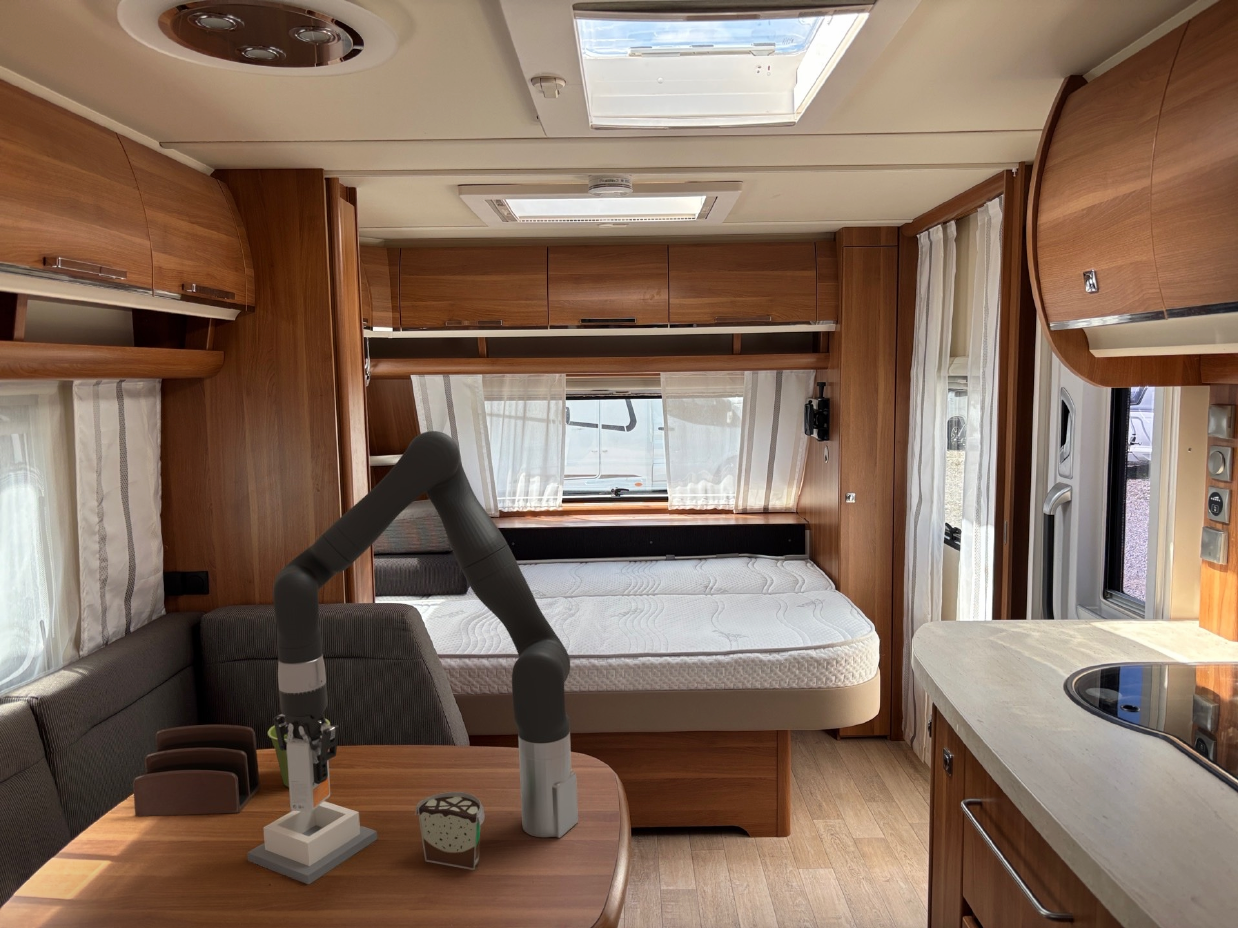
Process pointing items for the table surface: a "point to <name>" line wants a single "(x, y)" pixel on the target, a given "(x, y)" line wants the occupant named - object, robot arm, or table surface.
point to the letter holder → (198, 771)
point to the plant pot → (282, 754)
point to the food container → (451, 828)
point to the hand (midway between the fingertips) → (309, 777)
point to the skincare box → (304, 778)
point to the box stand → (311, 842)
